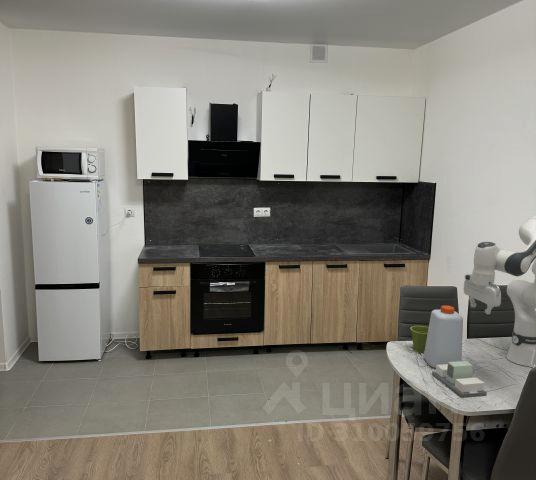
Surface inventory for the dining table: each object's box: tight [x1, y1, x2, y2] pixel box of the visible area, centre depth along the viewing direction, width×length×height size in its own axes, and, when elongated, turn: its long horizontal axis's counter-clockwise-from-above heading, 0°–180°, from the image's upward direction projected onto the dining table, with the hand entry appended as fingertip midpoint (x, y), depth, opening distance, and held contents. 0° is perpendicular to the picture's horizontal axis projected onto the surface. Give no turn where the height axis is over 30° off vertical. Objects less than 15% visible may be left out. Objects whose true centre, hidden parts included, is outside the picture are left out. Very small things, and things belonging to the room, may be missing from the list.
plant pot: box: [409, 325, 429, 354], centre depth 240 cm, size 12×12×11 cm
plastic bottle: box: [423, 305, 464, 369], centre depth 224 cm, size 15×15×28 cm
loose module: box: [446, 360, 474, 384], centre depth 204 cm, size 9×4×8 cm, turn 104°
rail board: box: [431, 364, 488, 399], centre depth 204 cm, size 12×21×5 cm, turn 14°
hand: (480, 310), depth 208 cm, fingers open, 8 cm apart
